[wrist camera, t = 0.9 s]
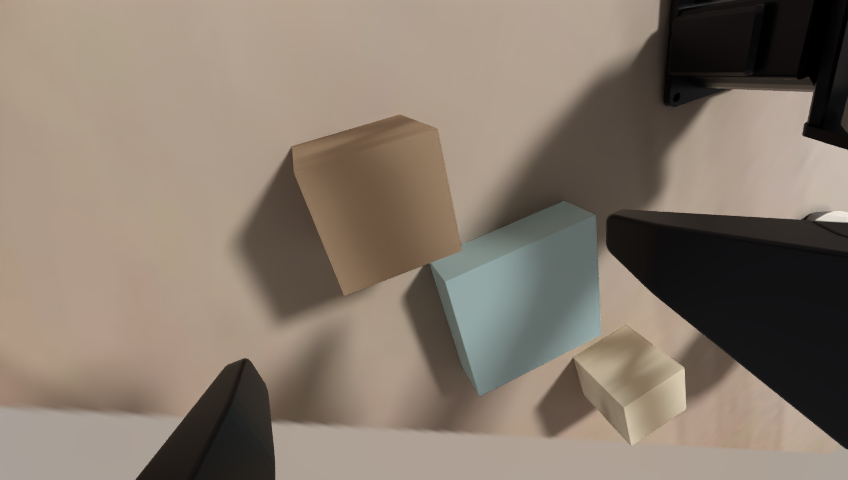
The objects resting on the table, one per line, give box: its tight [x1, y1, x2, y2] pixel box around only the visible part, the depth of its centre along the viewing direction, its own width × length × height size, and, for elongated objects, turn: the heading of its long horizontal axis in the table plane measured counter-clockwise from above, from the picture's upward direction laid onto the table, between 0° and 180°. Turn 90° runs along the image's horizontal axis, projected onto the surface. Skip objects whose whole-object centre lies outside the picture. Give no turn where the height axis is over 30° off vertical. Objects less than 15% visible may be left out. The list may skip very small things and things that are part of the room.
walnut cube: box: [292, 115, 462, 296], centre depth 16 cm, size 5×5×5 cm
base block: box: [429, 201, 601, 397], centre depth 22 cm, size 9×9×3 cm
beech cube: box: [573, 325, 686, 446], centre depth 28 cm, size 5×5×5 cm
